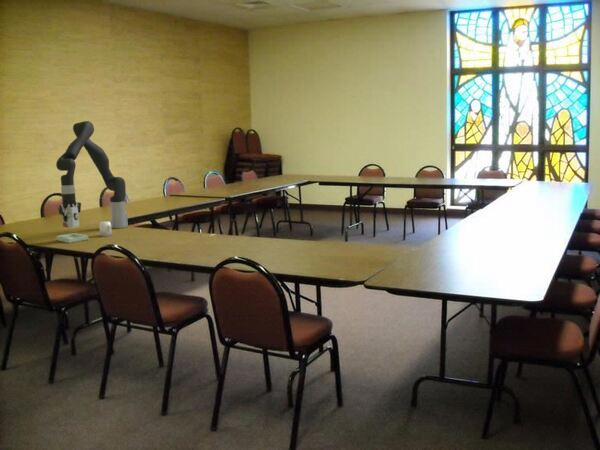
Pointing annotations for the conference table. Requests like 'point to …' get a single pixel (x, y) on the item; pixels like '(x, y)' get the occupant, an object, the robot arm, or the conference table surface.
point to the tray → (72, 238)
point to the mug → (105, 228)
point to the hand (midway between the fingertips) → (70, 220)
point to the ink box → (71, 217)
